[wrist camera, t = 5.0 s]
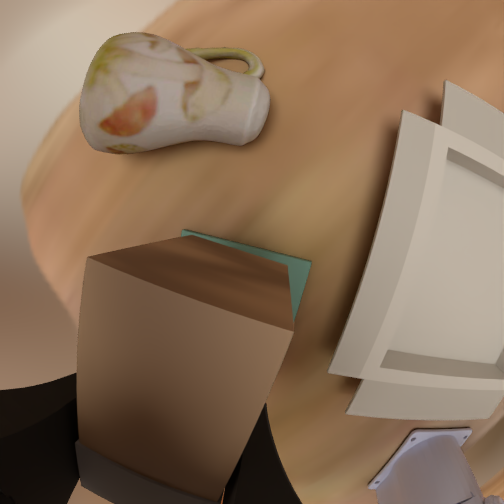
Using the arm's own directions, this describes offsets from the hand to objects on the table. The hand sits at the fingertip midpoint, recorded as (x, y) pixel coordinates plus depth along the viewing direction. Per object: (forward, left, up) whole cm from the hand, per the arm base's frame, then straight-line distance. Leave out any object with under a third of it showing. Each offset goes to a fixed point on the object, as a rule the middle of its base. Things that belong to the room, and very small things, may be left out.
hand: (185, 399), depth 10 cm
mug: (+12, +5, -10) cm, 16 cm away
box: (+1, 0, -3) cm, 3 cm away
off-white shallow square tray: (+6, -16, -10) cm, 20 cm away
